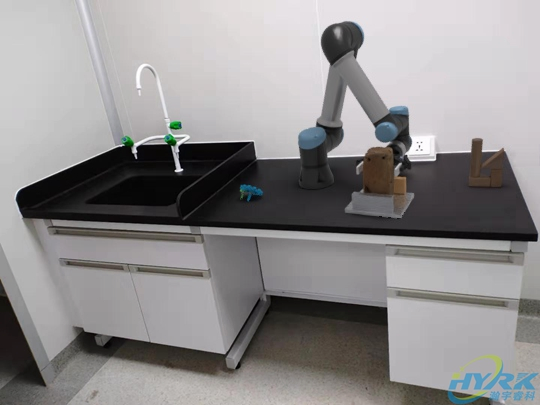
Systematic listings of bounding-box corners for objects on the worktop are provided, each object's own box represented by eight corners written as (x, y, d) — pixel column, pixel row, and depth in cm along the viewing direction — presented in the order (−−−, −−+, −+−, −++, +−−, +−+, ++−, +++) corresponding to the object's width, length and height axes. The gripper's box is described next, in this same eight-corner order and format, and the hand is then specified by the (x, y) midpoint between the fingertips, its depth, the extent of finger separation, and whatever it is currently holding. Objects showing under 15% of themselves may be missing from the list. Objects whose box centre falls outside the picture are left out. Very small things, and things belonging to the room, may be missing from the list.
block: (395, 197, 153) (394, 145, 145) (392, 206, 147) (391, 152, 139) (366, 196, 158) (363, 146, 150) (361, 204, 151) (359, 152, 144)
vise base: (344, 212, 151) (343, 193, 148) (362, 192, 165) (361, 174, 162) (400, 218, 141) (400, 198, 138) (414, 196, 155) (414, 178, 152)
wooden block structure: (501, 187, 152) (505, 140, 145) (468, 186, 157) (471, 140, 150) (500, 183, 155) (504, 137, 148) (468, 183, 160) (471, 137, 153)
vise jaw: (367, 191, 162) (367, 177, 159) (370, 188, 164) (369, 174, 161) (404, 194, 154) (404, 179, 152) (406, 191, 156) (406, 177, 154)
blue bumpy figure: (268, 192, 175) (252, 183, 168) (264, 205, 173) (248, 196, 166) (249, 192, 182) (234, 183, 175) (245, 205, 181) (230, 196, 174)
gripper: (426, 163, 156) (412, 184, 140) (362, 160, 169) (343, 179, 153) (426, 144, 153) (412, 163, 137) (361, 143, 166) (341, 160, 150)
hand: (375, 172), depth 145 cm, fingers open, 13 cm apart
